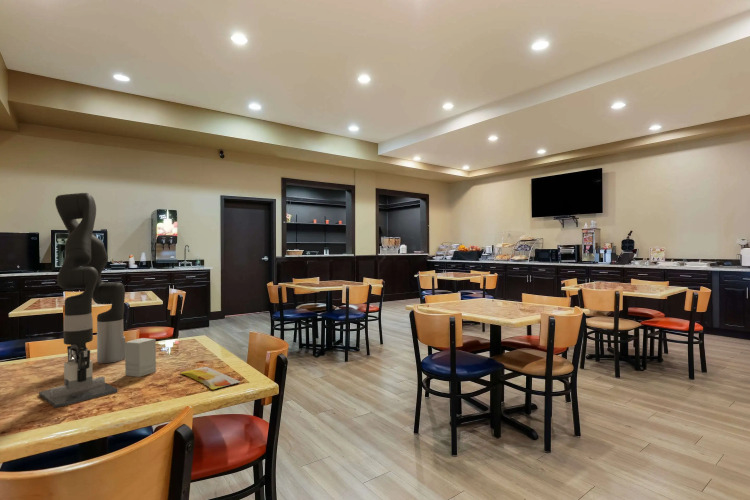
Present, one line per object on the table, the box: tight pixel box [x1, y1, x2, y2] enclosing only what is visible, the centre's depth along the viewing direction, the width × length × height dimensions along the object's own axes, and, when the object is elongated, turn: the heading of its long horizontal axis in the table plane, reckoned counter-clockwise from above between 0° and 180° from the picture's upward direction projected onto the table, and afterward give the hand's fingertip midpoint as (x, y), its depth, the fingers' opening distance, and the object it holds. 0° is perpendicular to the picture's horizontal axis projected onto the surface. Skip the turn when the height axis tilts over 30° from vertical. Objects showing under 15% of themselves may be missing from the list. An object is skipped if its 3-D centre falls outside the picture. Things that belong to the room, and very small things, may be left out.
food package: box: [180, 366, 241, 390], centre depth 138 cm, size 27×2×10 cm
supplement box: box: [124, 337, 157, 378], centre depth 144 cm, size 7×7×13 cm
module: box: [63, 359, 93, 390], centre depth 124 cm, size 6×6×8 cm
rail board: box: [38, 376, 118, 409], centre depth 124 cm, size 16×18×4 cm
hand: (78, 379), depth 124 cm, fingers closed on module, 5 cm apart
